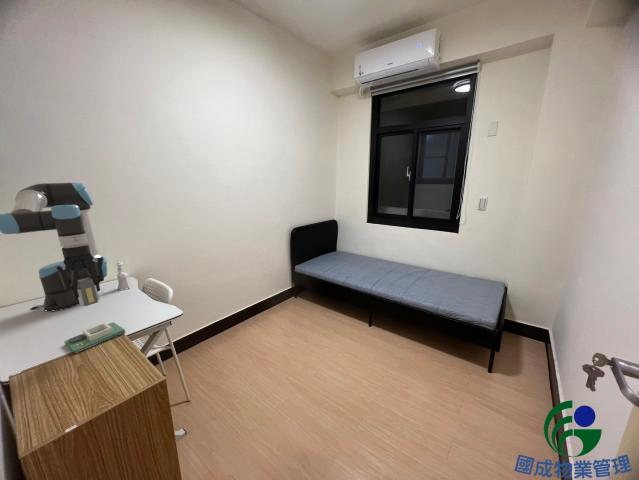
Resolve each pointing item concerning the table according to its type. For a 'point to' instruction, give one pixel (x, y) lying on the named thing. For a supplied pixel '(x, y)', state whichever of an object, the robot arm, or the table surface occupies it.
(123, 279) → the figurine
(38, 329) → the table surface
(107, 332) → the board
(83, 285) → the plug
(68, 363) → the table surface
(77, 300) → the robot arm
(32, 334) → the table surface
